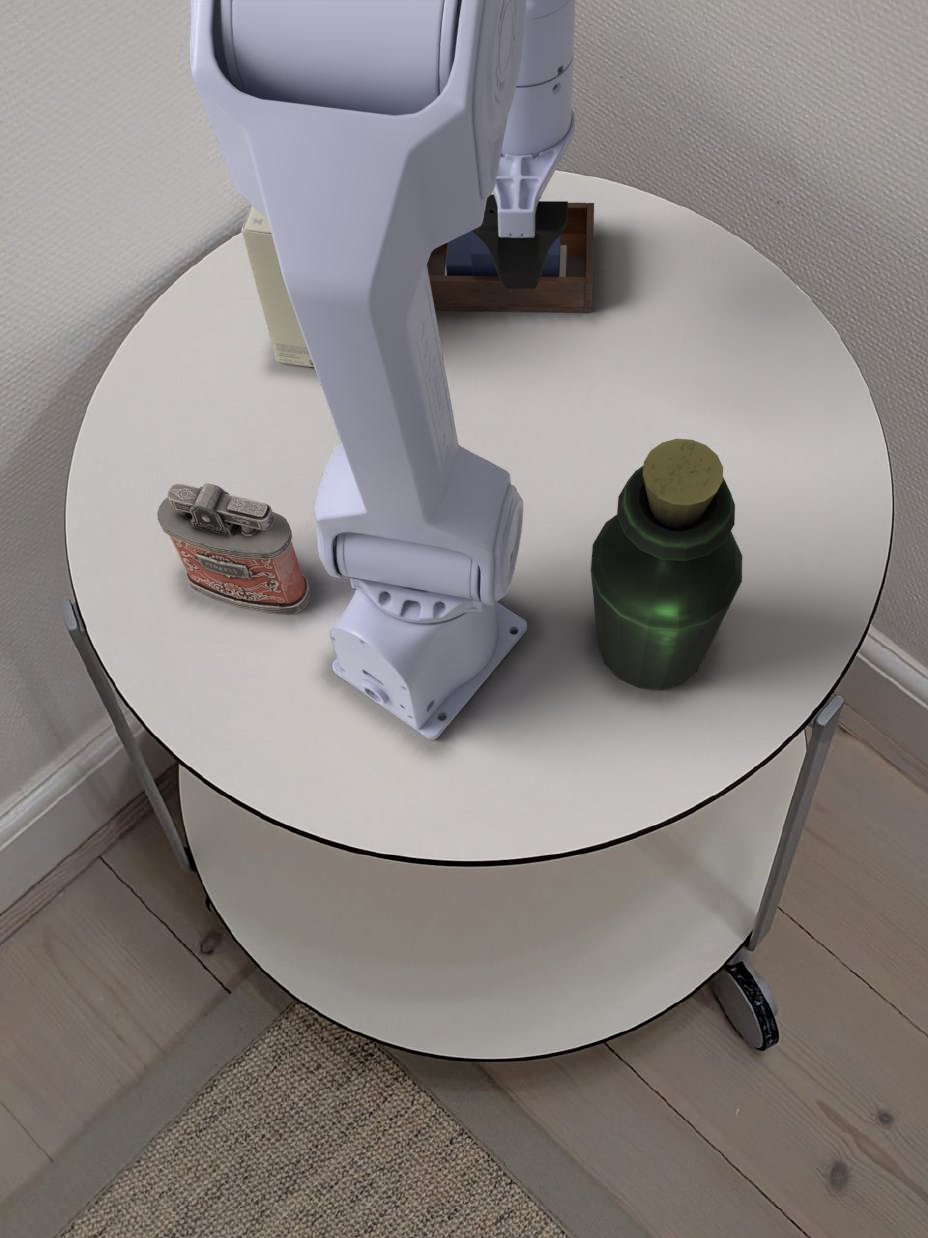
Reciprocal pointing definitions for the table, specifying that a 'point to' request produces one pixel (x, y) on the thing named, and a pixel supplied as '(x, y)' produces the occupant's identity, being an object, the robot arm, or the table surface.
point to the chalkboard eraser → (476, 260)
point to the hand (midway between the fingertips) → (522, 239)
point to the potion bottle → (666, 567)
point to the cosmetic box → (273, 292)
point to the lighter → (234, 549)
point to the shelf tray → (545, 297)
